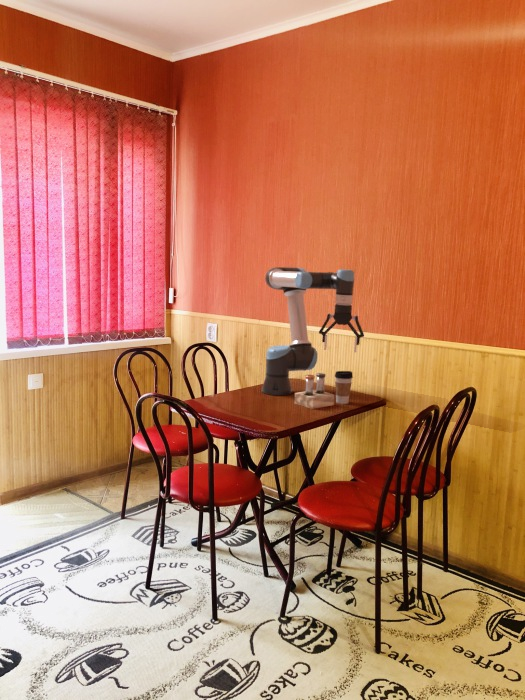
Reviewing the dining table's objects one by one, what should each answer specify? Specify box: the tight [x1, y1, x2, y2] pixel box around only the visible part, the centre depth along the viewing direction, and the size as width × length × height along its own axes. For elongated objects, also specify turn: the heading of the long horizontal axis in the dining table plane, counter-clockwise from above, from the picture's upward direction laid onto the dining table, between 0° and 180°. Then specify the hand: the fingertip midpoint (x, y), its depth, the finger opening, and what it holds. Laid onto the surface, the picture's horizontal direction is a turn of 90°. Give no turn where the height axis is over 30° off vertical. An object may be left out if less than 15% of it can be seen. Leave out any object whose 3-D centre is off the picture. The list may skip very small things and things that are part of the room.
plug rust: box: [304, 374, 316, 396], centre depth 264 cm, size 4×4×9 cm
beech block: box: [293, 389, 335, 410], centre depth 267 cm, size 12×14×5 cm
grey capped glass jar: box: [315, 372, 327, 394], centre depth 268 cm, size 4×4×9 cm
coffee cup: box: [334, 370, 353, 405], centre depth 272 cm, size 8×8×15 cm
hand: (340, 350), depth 259 cm, fingers open, 13 cm apart
